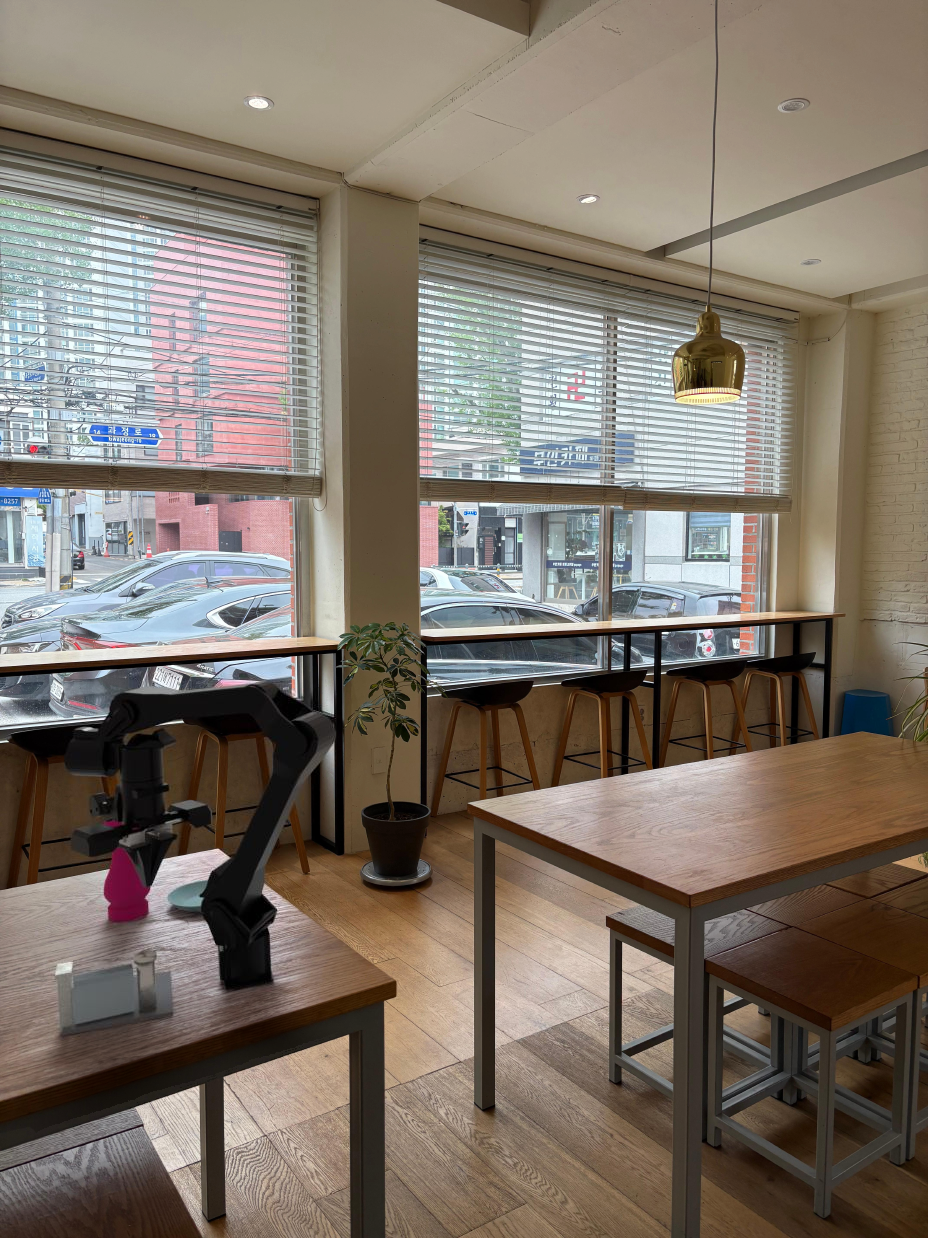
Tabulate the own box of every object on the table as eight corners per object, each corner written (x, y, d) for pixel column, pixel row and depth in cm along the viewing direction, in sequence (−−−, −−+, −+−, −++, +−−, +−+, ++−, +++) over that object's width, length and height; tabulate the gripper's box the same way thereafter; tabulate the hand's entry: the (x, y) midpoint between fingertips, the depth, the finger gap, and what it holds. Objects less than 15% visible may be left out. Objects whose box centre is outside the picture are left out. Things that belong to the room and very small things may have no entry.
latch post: (76, 1019, 114) (73, 961, 113) (74, 1032, 111) (70, 972, 110) (60, 1022, 113) (57, 964, 112) (58, 1035, 110) (54, 975, 109)
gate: (133, 1005, 115) (131, 963, 115) (135, 1011, 113) (132, 969, 113) (75, 1018, 112) (72, 975, 112) (76, 1024, 110) (73, 981, 110)
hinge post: (159, 1005, 117) (156, 949, 116) (159, 1015, 114) (156, 958, 113) (136, 1009, 116) (133, 952, 115) (136, 1020, 113) (133, 961, 113)
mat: (170, 974, 125) (170, 971, 125) (172, 1015, 114) (172, 1011, 114) (69, 991, 121) (69, 988, 121) (61, 1036, 110) (61, 1032, 110)
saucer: (170, 924, 143) (169, 910, 143) (165, 898, 154) (164, 885, 154) (245, 912, 148) (244, 898, 147) (235, 887, 158) (235, 875, 158)
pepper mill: (136, 925, 143) (129, 801, 141) (95, 922, 144) (88, 800, 143) (160, 907, 150) (154, 789, 148) (121, 904, 151) (115, 788, 150)
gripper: (170, 757, 138) (175, 856, 139) (48, 783, 123) (55, 893, 125) (212, 767, 130) (216, 872, 131) (88, 795, 116) (94, 912, 117)
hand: (147, 886), depth 126 cm, fingers closed
